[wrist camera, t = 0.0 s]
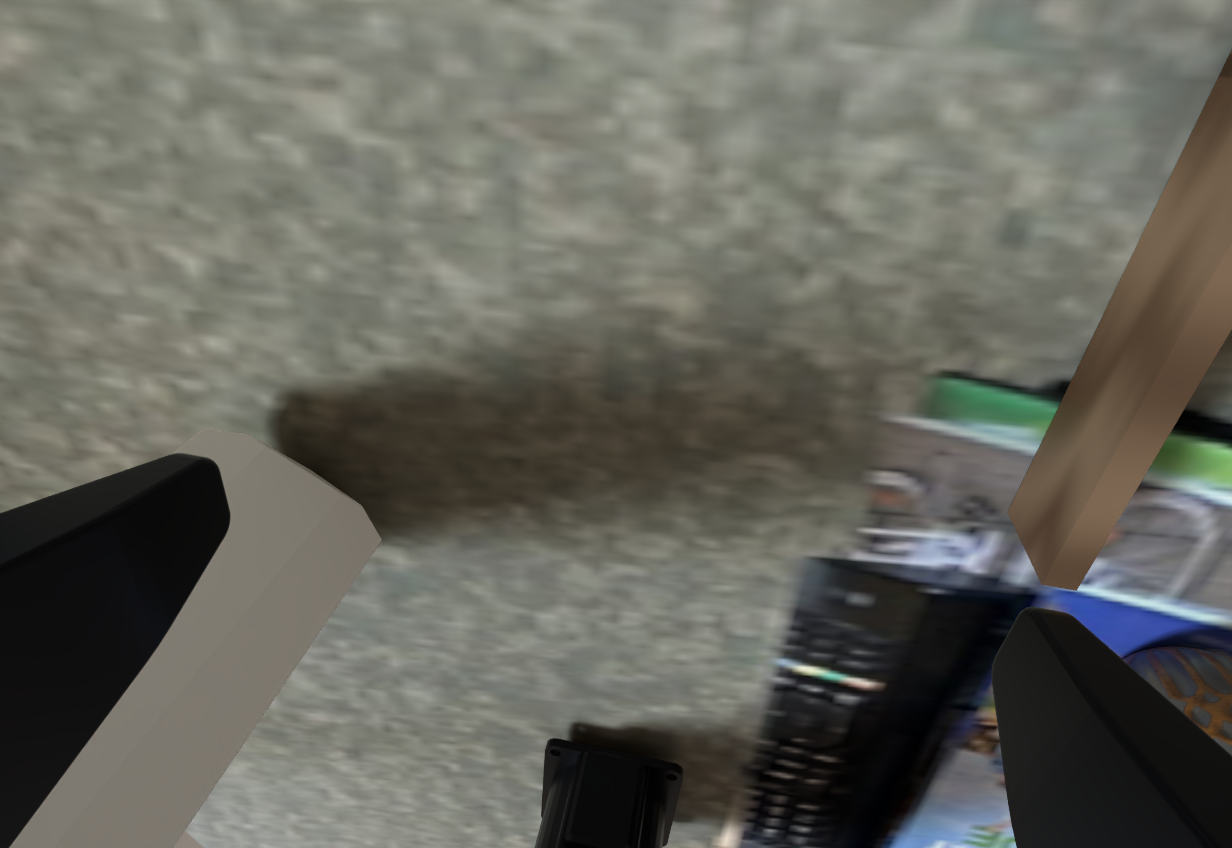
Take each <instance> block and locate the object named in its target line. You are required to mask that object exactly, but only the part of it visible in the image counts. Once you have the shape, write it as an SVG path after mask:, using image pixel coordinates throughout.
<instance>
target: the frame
mask: <svg viewBox="0 0 1232 848" xmlns="http://www.w3.org/2000/svg"><path fill="white" fill-rule="evenodd" d="M1231 330H1232V50H1231V52H1230V55H1229V57H1228V59H1227V61H1226V63H1225V65H1224V67H1223V69H1222V71H1221V73H1220V75H1219V77H1218V79H1217V81H1216V83H1215V85H1214V88H1213V90H1212V92H1211V94H1210V96H1209V98H1208V100H1207V102H1206V104H1205V106H1204V108H1203V110H1202V112H1201V114H1200V116H1199V119H1198V121H1197V123H1196V125H1195V127H1194V129H1193V131H1192V133H1191V135H1190V137H1189V139H1188V141H1187V143H1186V145H1185V147H1184V149H1183V152H1182V154H1181V156H1180V158H1179V160H1178V162H1177V164H1176V166H1175V168H1174V170H1173V172H1172V174H1171V176H1170V178H1169V180H1168V182H1167V185H1166V187H1165V189H1164V191H1163V193H1162V195H1161V197H1160V199H1159V201H1158V203H1157V205H1156V207H1155V209H1154V211H1153V213H1152V215H1151V218H1150V220H1149V222H1148V224H1147V226H1146V228H1145V230H1144V232H1143V234H1142V236H1141V238H1140V240H1139V242H1138V244H1137V246H1136V249H1135V251H1134V253H1133V255H1132V257H1131V259H1130V261H1129V263H1128V265H1127V267H1126V269H1125V271H1124V273H1123V275H1122V277H1121V279H1120V282H1119V284H1118V286H1117V288H1116V290H1115V292H1114V294H1113V296H1112V298H1111V300H1110V302H1109V304H1108V306H1107V308H1106V310H1105V312H1104V315H1103V317H1102V319H1101V321H1100V323H1099V325H1098V327H1097V329H1096V331H1095V333H1094V335H1093V337H1092V339H1091V341H1090V343H1089V345H1088V348H1087V350H1086V352H1085V354H1084V356H1083V358H1082V360H1081V362H1080V364H1079V366H1078V368H1077V370H1076V372H1075V374H1074V376H1073V379H1072V381H1071V383H1070V385H1069V387H1068V389H1067V391H1066V393H1065V395H1064V397H1063V399H1062V401H1061V403H1060V405H1059V407H1058V409H1057V412H1056V414H1055V416H1054V418H1053V420H1052V422H1051V424H1050V426H1049V428H1048V430H1047V432H1046V434H1045V436H1044V438H1043V440H1042V442H1041V445H1040V447H1039V449H1038V451H1037V453H1036V455H1035V457H1034V459H1033V461H1032V463H1031V465H1030V467H1029V469H1028V471H1027V473H1026V475H1025V478H1024V480H1023V482H1022V484H1021V486H1020V488H1019V490H1018V492H1017V494H1016V496H1015V498H1014V500H1013V502H1012V504H1011V506H1010V509H1009V511H1008V514H1009V517H1010V519H1011V521H1012V523H1013V525H1014V527H1015V529H1016V531H1017V533H1018V536H1019V538H1020V540H1021V542H1022V544H1023V546H1024V548H1025V550H1026V552H1027V555H1028V557H1029V559H1030V561H1031V563H1032V565H1033V567H1034V569H1035V571H1036V574H1037V576H1038V578H1039V580H1040V582H1041V584H1042V585H1048V586H1053V587H1059V588H1064V589H1070V590H1076V591H1077V589H1078V587H1079V586H1080V584H1081V582H1082V581H1083V579H1084V577H1085V575H1086V574H1087V572H1088V570H1089V569H1090V567H1091V565H1092V564H1093V562H1094V560H1095V559H1096V557H1097V555H1098V554H1099V552H1100V550H1101V549H1102V547H1103V545H1104V543H1105V542H1106V540H1107V538H1108V537H1109V535H1110V533H1111V532H1112V530H1113V528H1114V527H1115V525H1116V523H1117V522H1118V520H1119V518H1120V517H1121V515H1122V513H1123V511H1124V510H1125V508H1126V506H1127V505H1128V503H1129V501H1130V500H1131V498H1132V496H1133V495H1134V493H1135V491H1136V490H1137V488H1138V486H1139V485H1140V483H1141V481H1142V479H1143V478H1144V476H1145V474H1146V473H1147V471H1148V469H1149V468H1150V466H1151V464H1152V463H1153V461H1154V459H1155V458H1156V456H1157V454H1158V453H1159V451H1160V449H1161V448H1162V446H1163V444H1164V442H1165V441H1166V439H1167V437H1168V436H1169V434H1170V432H1171V431H1172V429H1173V427H1174V426H1175V424H1176V422H1177V421H1178V419H1179V417H1180V416H1181V414H1182V412H1183V410H1184V409H1185V407H1186V405H1187V404H1188V402H1189V400H1190V399H1191V397H1192V395H1193V394H1194V392H1195V390H1196V389H1197V387H1198V385H1199V384H1200V382H1201V380H1202V378H1203V377H1204V375H1205V373H1206V372H1207V370H1208V368H1209V367H1210V365H1211V363H1212V362H1213V360H1214V358H1215V357H1216V355H1217V353H1218V352H1219V350H1220V348H1221V347H1222V345H1223V343H1224V341H1225V340H1226V338H1227V336H1228V335H1229V333H1230V331H1231Z"/></svg>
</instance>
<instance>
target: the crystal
mask: <svg viewBox="0 0 1232 848" xmlns="http://www.w3.org/2000/svg"><path fill="white" fill-rule="evenodd" d="M175 453H185V454H191V455H196V456H202V457H207V458H210V459H212V460H214V462H215V463H216V464H217V465H218V467H219V469H220V473H221V477H222V481H223V485H224V489H225V493H226V497H227V501H228V505H229V509H230V514H231V518H230V525H229V529H228V531H227V534H226V536H225V538H224V539H223V541H222V543H221V544H220V546H219V548H218V549H217V551H216V553H215V554H214V556H213V558H212V559H211V561H210V563H209V564H208V566H207V568H206V569H205V571H204V573H203V574H202V576H201V578H200V579H199V581H198V583H197V584H196V586H195V588H194V589H193V591H192V593H191V594H190V596H189V598H188V599H187V601H186V603H185V604H184V606H183V608H182V609H181V611H180V613H179V614H178V616H177V618H176V619H175V621H174V623H173V624H172V626H171V628H170V629H169V631H168V632H167V634H166V635H165V637H164V638H163V640H162V642H161V643H160V645H159V646H158V648H157V649H156V650H155V652H154V653H153V655H152V656H151V658H150V659H149V660H148V662H147V663H146V665H145V666H144V667H143V669H142V670H141V671H140V673H139V674H138V675H137V677H136V678H135V679H134V681H133V682H132V683H131V685H130V686H129V688H128V689H127V690H126V692H125V693H124V694H123V696H122V697H121V698H120V700H119V701H118V702H117V704H116V705H115V706H114V708H113V709H112V710H111V712H110V713H109V714H108V716H107V717H106V718H105V720H104V721H103V723H102V724H101V725H100V727H99V728H98V729H97V731H96V732H95V733H94V735H93V736H92V737H91V739H90V740H89V741H88V743H87V744H86V745H85V747H84V748H83V749H82V751H81V752H80V753H79V755H78V756H77V758H76V759H75V760H74V762H73V763H72V764H71V766H70V767H69V768H68V770H67V771H66V772H65V774H64V775H63V776H62V778H61V779H60V780H59V782H58V783H57V784H56V786H55V787H54V788H53V790H52V791H51V792H50V794H49V795H48V797H47V798H46V799H45V801H44V802H43V803H42V805H41V806H40V807H39V809H38V810H37V811H36V813H35V814H34V815H33V817H32V818H31V819H30V821H29V822H28V823H27V825H26V826H25V827H24V829H23V830H22V832H21V833H20V834H19V836H18V837H17V838H16V840H15V841H14V842H13V844H12V845H11V846H10V848H173V847H174V846H175V844H176V843H177V841H178V840H179V838H180V837H181V835H182V834H183V832H184V831H185V830H186V828H187V827H188V825H189V824H190V822H191V821H192V819H193V818H194V816H195V815H196V813H197V812H198V810H199V809H200V807H201V806H202V805H203V803H204V802H205V800H206V799H207V797H208V796H209V794H210V793H211V791H212V790H213V788H214V787H215V785H216V784H217V782H218V781H219V779H220V778H221V777H222V775H223V774H224V772H225V771H226V769H227V768H228V766H229V765H230V763H231V762H232V760H233V759H234V757H235V756H236V754H237V753H238V752H239V750H240V749H241V747H242V746H243V744H244V743H245V741H246V740H247V738H248V737H249V735H250V734H251V732H252V731H253V729H254V728H255V727H256V725H257V724H258V722H259V721H260V719H261V718H262V716H263V715H264V713H265V712H266V710H267V709H268V707H269V706H270V704H271V703H272V701H273V700H274V699H275V697H276V696H277V694H278V693H279V691H280V690H281V688H282V687H283V685H284V684H285V682H286V681H287V679H288V678H289V676H290V675H291V674H292V672H293V671H294V669H295V668H296V666H297V665H298V663H299V662H300V660H301V659H302V657H303V656H304V654H305V653H306V651H307V650H308V649H309V647H310V646H311V644H312V643H313V641H314V640H315V638H316V637H317V635H318V634H319V632H320V631H321V629H322V628H323V626H324V625H325V623H326V622H327V621H328V619H329V618H330V616H331V615H332V613H333V612H334V610H335V609H336V607H337V606H338V604H339V603H340V601H341V600H342V598H343V597H344V596H345V594H346V593H347V591H348V590H349V588H350V587H351V585H352V584H353V582H354V581H355V579H356V578H357V576H358V575H359V573H360V572H361V571H362V569H363V568H364V566H365V565H366V563H367V562H368V560H369V559H370V557H371V556H372V554H373V553H374V551H375V550H376V548H377V547H378V545H379V544H380V543H381V541H382V540H381V538H380V536H379V534H378V533H377V531H376V529H375V528H374V526H373V524H372V522H371V521H370V519H369V517H368V516H367V514H366V512H365V510H364V509H363V507H362V505H360V504H359V503H357V502H356V501H355V500H353V499H352V498H350V497H349V496H347V495H346V494H345V493H343V492H342V491H340V490H339V489H337V488H336V487H335V486H333V485H332V484H330V483H329V482H327V481H326V480H325V479H323V478H322V477H320V476H319V475H317V474H316V473H315V472H313V471H311V470H310V469H308V468H306V467H305V466H303V465H301V464H299V463H298V462H296V461H294V460H292V459H291V458H289V457H287V456H285V455H284V454H282V453H280V452H279V451H277V450H275V449H273V448H272V447H270V446H268V445H266V444H265V443H263V442H261V441H260V440H258V439H256V438H254V437H253V436H251V435H248V434H240V433H233V432H225V431H217V430H209V429H202V430H201V431H199V432H198V433H197V434H196V435H194V436H193V437H192V438H191V439H189V440H188V441H187V442H186V443H184V444H183V445H182V446H181V447H179V448H178V449H177V450H176V451H174V452H173V453H172V454H175Z"/></svg>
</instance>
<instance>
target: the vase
mask: <svg viewBox="0 0 1232 848" xmlns="http://www.w3.org/2000/svg"><path fill="white" fill-rule="evenodd" d="M1123 660H1124V661H1125V662H1126V663H1127V664H1128V665H1129V666H1131V667H1132V668H1133V669H1134V670H1135V671H1136V672H1137V673H1139V674H1140V675H1141V676H1142V677H1143V678H1144V679H1145V680H1147V681H1148V682H1149V683H1150V684H1151V685H1152V686H1153V687H1154V688H1156V689H1157V690H1158V691H1159V692H1160V693H1161V694H1162V695H1164V696H1165V697H1166V698H1167V699H1168V700H1169V701H1170V702H1172V703H1173V704H1174V705H1175V706H1176V707H1177V708H1178V709H1180V710H1181V711H1182V712H1183V713H1184V714H1185V715H1186V716H1188V717H1189V718H1190V719H1191V720H1192V721H1193V722H1194V723H1196V724H1197V725H1198V726H1199V727H1200V728H1201V729H1202V730H1204V731H1205V732H1206V733H1207V734H1208V735H1209V736H1210V737H1211V738H1213V739H1214V740H1215V741H1216V742H1217V743H1218V744H1219V745H1221V746H1222V747H1223V748H1224V749H1225V750H1226V751H1227V752H1229V753H1230V754H1231V755H1232V657H1229V656H1226V655H1223V654H1220V653H1217V652H1213V651H1207V650H1202V649H1197V648H1190V647H1179V646H1167V647H1157V648H1151V649H1146V650H1143V651H1139V652H1137V653H1134V654H1131V655H1129V656H1127V657H1125V658H1123Z"/></svg>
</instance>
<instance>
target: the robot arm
mask: <svg viewBox="0 0 1232 848" xmlns="http://www.w3.org/2000/svg"><path fill="white" fill-rule="evenodd" d="M230 518H231V514H230V509H229V505H228V501H227V497H226V493H225V489H224V485H223V481H222V477H221V473H220V469H219V467H218V465H217V464H216V463H215V462H214V460H212V459H210V458H207V457H202V456H196V455H191V454H185V453H175V454H171V455H168V456H165V457H162V458H159V459H156V460H153V461H151V462H148V463H145V464H142V465H139V466H136V467H133V468H130V469H127V470H124V471H122V472H119V473H116V474H113V475H110V476H107V477H104V478H101V479H98V480H95V481H93V482H90V483H87V484H84V485H81V486H78V487H75V488H72V489H69V490H66V491H64V492H61V493H58V494H55V495H52V496H49V497H46V498H43V499H40V500H37V501H34V502H32V503H29V504H26V505H23V506H20V507H17V508H14V509H11V510H8V511H5V512H3V513H0V848H10V846H11V845H12V844H13V842H14V841H15V840H16V838H17V837H18V836H19V834H20V833H21V832H22V830H23V829H24V827H25V826H26V825H27V823H28V822H29V821H30V819H31V818H32V817H33V815H34V814H35V813H36V811H37V810H38V809H39V807H40V806H41V805H42V803H43V802H44V801H45V799H46V798H47V797H48V795H49V794H50V792H51V791H52V790H53V788H54V787H55V786H56V784H57V783H58V782H59V780H60V779H61V778H62V776H63V775H64V774H65V772H66V771H67V770H68V768H69V767H70V766H71V764H72V763H73V762H74V760H75V759H76V758H77V756H78V755H79V753H80V752H81V751H82V749H83V748H84V747H85V745H86V744H87V743H88V741H89V740H90V739H91V737H92V736H93V735H94V733H95V732H96V731H97V729H98V728H99V727H100V725H101V724H102V723H103V721H104V720H105V718H106V717H107V716H108V714H109V713H110V712H111V710H112V709H113V708H114V706H115V705H116V704H117V702H118V701H119V700H120V698H121V697H122V696H123V694H124V693H125V692H126V690H127V689H128V688H129V686H130V685H131V683H132V682H133V681H134V679H135V678H136V677H137V675H138V674H139V673H140V671H141V670H142V669H143V667H144V666H145V665H146V663H147V662H148V660H149V659H150V658H151V656H152V655H153V653H154V652H155V650H156V649H157V648H158V646H159V645H160V643H161V642H162V640H163V638H164V637H165V635H166V634H167V632H168V631H169V629H170V628H171V626H172V624H173V623H174V621H175V619H176V618H177V616H178V614H179V613H180V611H181V609H182V608H183V606H184V604H185V603H186V601H187V599H188V598H189V596H190V594H191V593H192V591H193V589H194V588H195V586H196V584H197V583H198V581H199V579H200V578H201V576H202V574H203V573H204V571H205V569H206V568H207V566H208V564H209V563H210V561H211V559H212V558H213V556H214V554H215V553H216V551H217V549H218V548H219V546H220V544H221V543H222V541H223V539H224V538H225V536H226V534H227V531H228V529H229V525H230ZM992 686H993V694H994V701H995V709H996V716H997V723H998V731H999V738H1000V746H1001V753H1002V761H1003V768H1004V776H1005V783H1006V791H1007V798H1008V805H1009V811H1010V817H1011V823H1012V828H1013V832H1014V837H1015V841H1016V846H1017V848H1232V755H1231V754H1230V753H1229V752H1227V751H1226V750H1225V749H1224V748H1223V747H1222V746H1221V745H1219V744H1218V743H1217V742H1216V741H1215V740H1214V739H1213V738H1211V737H1210V736H1209V735H1208V734H1207V733H1206V732H1205V731H1204V730H1202V729H1201V728H1200V727H1199V726H1198V725H1197V724H1196V723H1194V722H1193V721H1192V720H1191V719H1190V718H1189V717H1188V716H1186V715H1185V714H1184V713H1183V712H1182V711H1181V710H1180V709H1178V708H1177V707H1176V706H1175V705H1174V704H1173V703H1172V702H1170V701H1169V700H1168V699H1167V698H1166V697H1165V696H1164V695H1162V694H1161V693H1160V692H1159V691H1158V690H1157V689H1156V688H1154V687H1153V686H1152V685H1151V684H1150V683H1149V682H1148V681H1147V680H1145V679H1144V678H1143V677H1142V676H1141V675H1140V674H1139V673H1137V672H1136V671H1135V670H1134V669H1133V668H1132V667H1131V666H1129V665H1128V664H1127V663H1126V662H1125V661H1124V660H1123V659H1121V658H1120V657H1119V656H1118V655H1117V654H1116V653H1115V652H1113V651H1112V650H1111V649H1110V648H1109V647H1108V646H1107V645H1105V644H1104V643H1103V642H1102V641H1101V640H1100V639H1099V638H1098V637H1096V636H1095V635H1094V634H1093V633H1092V632H1091V631H1090V630H1088V629H1087V628H1086V627H1085V626H1084V625H1083V624H1082V623H1080V622H1079V621H1078V620H1077V619H1076V618H1074V617H1073V616H1071V615H1070V614H1067V613H1064V612H1059V611H1054V610H1048V609H1043V608H1037V607H1029V608H1026V609H1024V610H1023V611H1021V612H1020V614H1019V615H1018V617H1017V618H1016V620H1015V622H1014V624H1013V626H1012V628H1011V629H1010V631H1009V633H1008V635H1007V637H1006V638H1005V640H1004V642H1003V644H1002V646H1001V648H1000V649H999V651H998V653H997V655H996V657H995V659H994V663H993V667H992ZM682 778H683V769H682V767H681V766H679V765H678V764H675V763H671V762H666V761H662V760H657V759H652V758H647V757H643V756H638V755H633V754H628V753H624V752H619V751H614V750H609V749H605V748H600V747H595V746H590V745H585V744H581V743H576V742H571V741H566V740H562V739H555V738H553V739H550V740H548V742H547V745H546V749H545V760H544V777H543V794H542V811H541V817H542V822H541V826H540V830H539V833H538V837H537V841H536V845H535V848H662V847H663V846H666V845H667V842H668V838H669V834H670V830H671V825H672V821H673V817H674V813H675V809H676V804H677V800H678V796H679V792H680V787H681V783H682Z"/></svg>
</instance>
